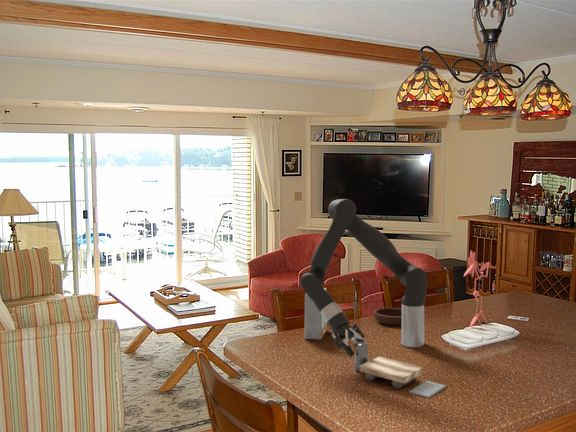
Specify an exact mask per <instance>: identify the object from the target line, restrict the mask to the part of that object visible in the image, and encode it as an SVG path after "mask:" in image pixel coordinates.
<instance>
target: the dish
mask: <svg viewBox="0 0 576 432" xmlns="http://www.w3.org/2000/svg"><path fill="white" fill-rule="evenodd" d="M373 317H374V318H376V320H377V322H379V323H380V324H384V325H387V326H388V325H389V326H394V325H395V326H399V325H402V308H399V307H381V308H377V309H375V310H374V311H373Z"/></svg>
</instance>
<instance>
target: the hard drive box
mask: <svg viewBox="0 0 576 432" xmlns="http://www.w3.org/2000/svg"><path fill="white" fill-rule="evenodd" d="M323 288H324V289H325V290H326V291H327V287H323ZM326 331H327V323H326V321H325V320H324V318H323V317H322V315H321V313H320V311H319V310H318V308H317V307H316V305H315V304H314V302H313V301H312V299H311V298H310V297H309V296H308V295H307V294H306V293H305V294H304V339H306V340H319V341H320V340H322V339H323V337H324V335H325V333H326Z"/></svg>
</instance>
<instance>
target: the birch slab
mask: <svg viewBox="0 0 576 432" xmlns="http://www.w3.org/2000/svg"><path fill="white" fill-rule="evenodd" d="M359 371H360V372H364V373H363V374H364V379H365V380H366V382H372V381H374V380H376V379H378V378H382V379H386V380H389V381H392V382H391V387H392V388H393V389H394V390H399V389H401V388H403V387H405V386H407V385H408V384H410V383H412V382H414V381H415V380H417V378H418V377H419V376H421V375H422V374H424V366H419V365H417V364H416V365H415V364H412V363H407V362H403V361H399V360H395V359H391V358H388V357H383V356H378V357H375V358H373V359H371V360H368V362H366V363H364V364H362V365H360V366H359Z"/></svg>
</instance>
